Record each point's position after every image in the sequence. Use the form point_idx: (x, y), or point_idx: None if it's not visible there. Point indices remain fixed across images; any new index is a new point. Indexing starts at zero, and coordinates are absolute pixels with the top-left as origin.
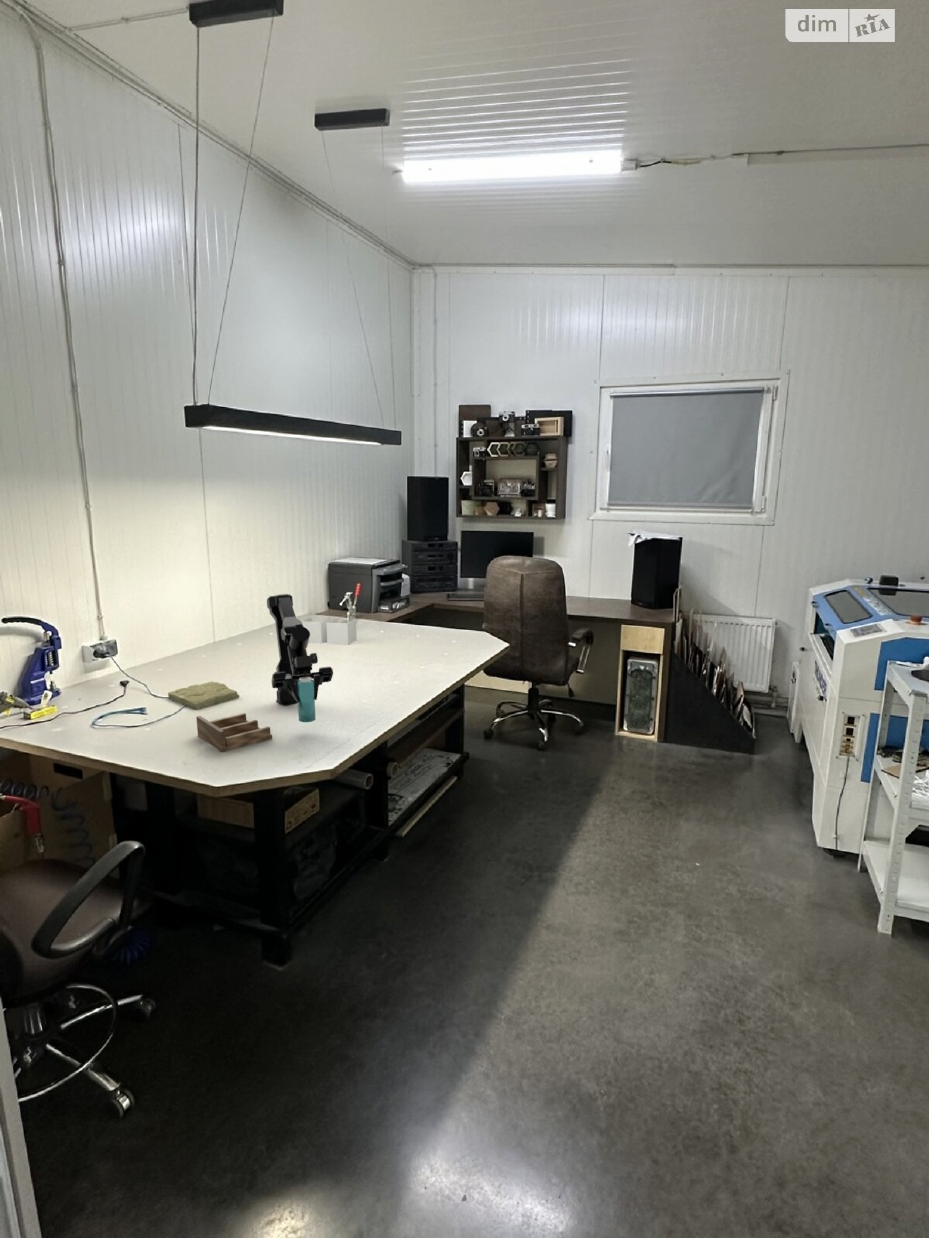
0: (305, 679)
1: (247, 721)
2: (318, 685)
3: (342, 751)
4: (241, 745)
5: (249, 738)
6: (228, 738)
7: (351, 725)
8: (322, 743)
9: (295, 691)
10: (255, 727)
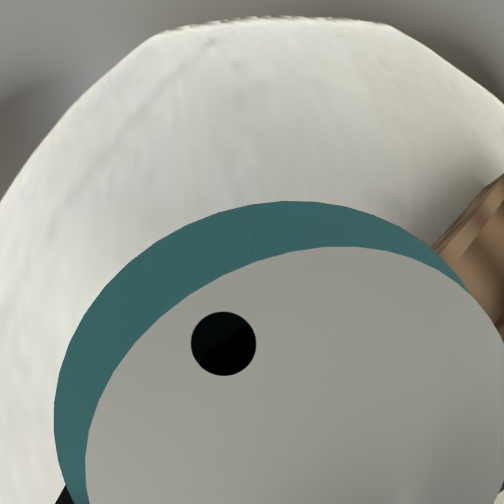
0: (328, 330)
1: None
2: (63, 489)
3: (94, 123)
4: (461, 215)
5: (458, 225)
6: (500, 180)
7: (39, 407)
8: (157, 199)
9: None
10: None
